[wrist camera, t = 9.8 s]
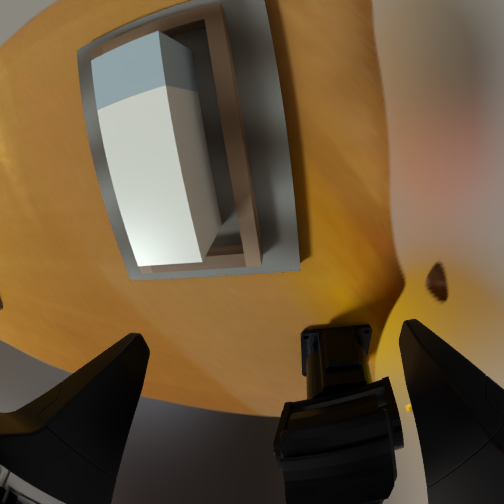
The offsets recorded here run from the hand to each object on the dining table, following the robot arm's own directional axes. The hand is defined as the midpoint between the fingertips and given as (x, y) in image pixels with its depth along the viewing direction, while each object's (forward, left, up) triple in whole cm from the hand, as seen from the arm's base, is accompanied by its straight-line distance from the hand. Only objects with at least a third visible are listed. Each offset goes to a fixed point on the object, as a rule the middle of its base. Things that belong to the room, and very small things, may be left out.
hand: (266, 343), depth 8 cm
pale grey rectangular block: (+6, +6, -11) cm, 14 cm away
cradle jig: (+6, +6, -12) cm, 14 cm away
